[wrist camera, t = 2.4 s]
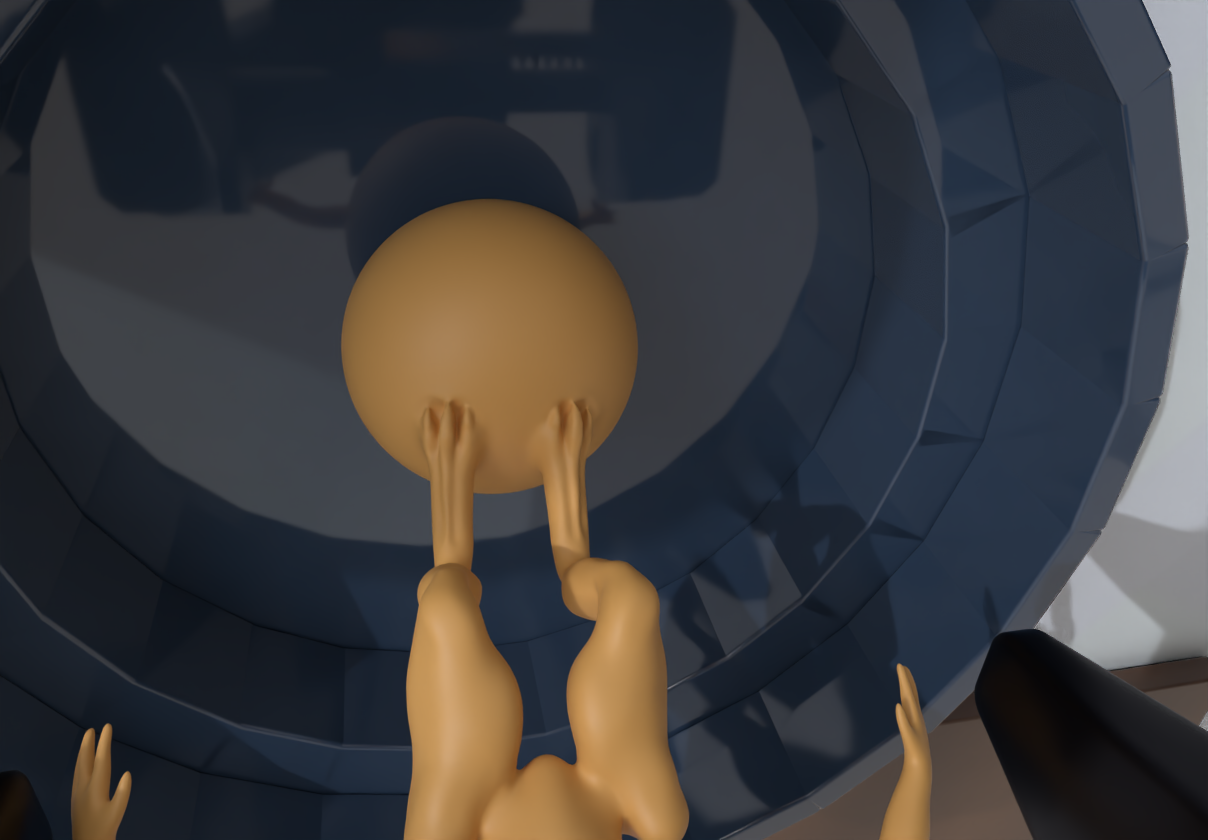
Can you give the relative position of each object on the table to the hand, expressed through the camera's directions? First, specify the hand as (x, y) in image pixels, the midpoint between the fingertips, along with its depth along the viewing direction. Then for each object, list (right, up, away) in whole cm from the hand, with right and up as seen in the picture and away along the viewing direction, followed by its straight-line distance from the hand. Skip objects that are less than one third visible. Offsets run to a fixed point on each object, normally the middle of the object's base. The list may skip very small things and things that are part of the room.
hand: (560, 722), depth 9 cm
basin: (-2, +4, +6) cm, 8 cm away
